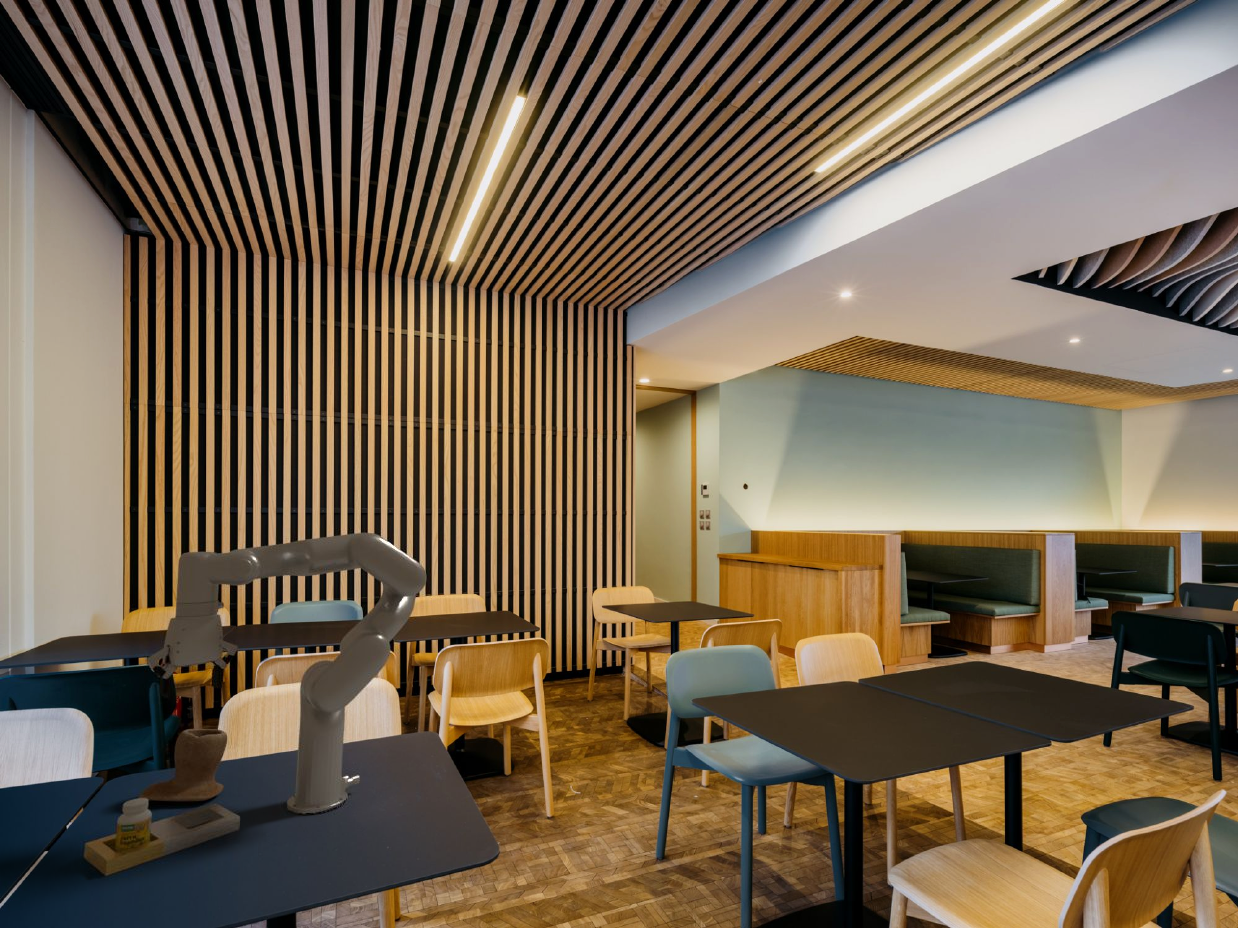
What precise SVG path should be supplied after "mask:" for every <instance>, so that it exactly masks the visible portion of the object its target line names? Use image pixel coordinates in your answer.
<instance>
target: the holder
mask: <svg viewBox="0 0 1238 928" xmlns="http://www.w3.org/2000/svg"><path fill="white" fill-rule="evenodd" d="M240 821H241V815H238V814H236V813H235V812H233V811H231V810H229V809H227V808H225V807H223V806H221V805H220V804H217V803H211V804H209V805H206V806H201V807H198V808H196V809H192V810H189V811H185V812H182V813H180V814H177V815H172V816H169V817H166V818H163V819H160V820H157V821H153V822H151V832H150V842H148V843H145V844H142V845H139V846H136V847H133V848H130V849H127V850H124V851H121V852H118V853H115V846H116V834H117V833H114V834H111V835H108V836H105V837H101V838H99V839H95V840H92V841H88V842H85V843H84V853H83V858H84V859H85V860H86V861H87V862H88V863H90V864H91V865H92V866H93V867H95V868H96V869H97V870H99V872H100V873H101V874H103V875H104V876H106V877H107V876H109V875H110V876H111V875H112V874H114V873H118V872H122V871H125V870H127V869H129V868H132V867H135V866H138V865H141V864H144V863H147V862H149V861H154V860H156V859H158V858H161V857H165V856H167V855H170V854H173V853H176V852H179V851H181V850H184V849H187V848H190V847H192V846H195V845H196V846H197V845H199V844H202V843H204V842H207V841H209V840H213V839H216V838H219V837H222V836H225V835H227V834H231V833H233V832H236V831H239V830H240V824H241V822H240Z"/></svg>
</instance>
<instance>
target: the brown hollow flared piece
mask: <svg viewBox="0 0 1238 928" xmlns="http://www.w3.org/2000/svg"><path fill="white" fill-rule="evenodd" d="M175 741H176V742H175V746H174V755H173V756H174V768H175V769H174V771H175V772H174V773H175V774H174V777H173V778H172V779H170V780H166V781H160V782H156V783H152V784H151V785H149V786H148V787H146V788H145V789H144V790H143V791H141V792H140V794H139V797H138V798H146V799H148V801H156V802H157V801H158V802H202V801H207V800H209V799H213V798H214V797H216V796H218V795H220V793H222V791H223V790H224V785H223V784H221V783H220V782H217V781H216V779H215V778H216V777H215V776H216V772H217V770H218V767H219V765H220V763H221V761H222V760H223V756H224V755H225V751H226V747H227V744H228V735H227V733H226V731H224V730H221V729H212V728H195V729H194V728H191V729H185V730H183V731H182V732H181V733H180V734H179V735H178V737H177V738H176V740H175Z"/></svg>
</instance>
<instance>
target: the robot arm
mask: <svg viewBox="0 0 1238 928" xmlns="http://www.w3.org/2000/svg"><path fill="white" fill-rule="evenodd" d="M177 567H178V568H177V569H178V570H177V583H176V584H177V585H176V600H175V602H176V603H175V617H171V618H170V620H169V621H168V622H169V623H168V627H167V629H166V634H165V639H164V646H163V648H162V649H160V650H159V651H157V652H155V653H153V654H152V655H150V656H149V657H147V658H146V659H145V660H146V664H147V665H148V666H149V668H150V670H151V671H152V673H154V674H155V675H157V676H158V678H159V694H160V695H161V697H162V698H165V699H171V698H172V696H173V682H174V680H173V679H174V678H172V677H171V676H172V674H173V673H175V671H176V670H177V669H178V668H184V667H191V666H197V665H203V664H209V663H211V664H212V665H214V667H212V669H211V682H210V683H211V684H210V685H211V687H212V688H214V689H222V686H223V683H224V678H225V677H224V676H225V669H226V668H227V667H228V665H229V663H231V661H232V660H233V658H234V656H235V655H236V652H238V651H237V650H238V649H239V647H238V645H236V644H234V643H230V642H228V641H225V640H224V636H223V635H224V634H223V623H222V620H221V619H222V618H221V614H218V613H219V610H221V609H224V607H225V603H224V602H223V601H222V602H220V601H219V600H218V599H219V585H229V586H244V585H248V584H250V583H252V582H253V581H255V580H258V579H266V578H272V577H282V576H293V577H294V576H295V577H296V576H297V577H309V576H317V575H319V576H320V575H324V574H331V573H336V572H337V573H338V572H343V571H351V570H357V569H362V570H363V571H365V572H366V573H367V574H369V575H370V576H372V577H373V578H375V579H376V580H378V581H379V582H380V583H382V593H381V596H380V598H379V600H378V602H377V603H375V605H374V606H373V608H372V609H371V610H370V611H368V613H367V614H366V615H365V616H364V617H363V618H362V619H361V620H360V621H359V622H358V623H357V624H356V625H355V626H354V627H353V628H351V630H350V631H348V632H347V633H346V635H344V636H343V638H342V639H341V641H340V645H339V653H340V654H338V656H337V657H336V658H334V660H328V659H327V660H326V659H325V660H321V661H320V660H319V661H317V662H315V663H313V664H312V665H310V666H309V667H308V668H307V669H306V671H304V673H303V675H302V677H301V680H300V685H299V686H300V689H299V700H300V702H299V706H300V709H299V711H300V712H299V715H300V716H299V731H298V732H299V733H298V743H297V744H298V747H297V761H296V763H297V764H296V778H295V779H296V781H295V794H293V795H292V796H291V797H289V798H288V800H287V802H286V803H287V804H286V808H287V810H288V811H289V810H290V811H289V812H291V811H293V812H292V813H293V814H294V813H295V814H299V813H302V814H301V815H307V814H306V813H314V814H316V813H315V812H319V811H323V810H326V809H329V808H332V807H333V806H336V805H338V804H340V803H342V802H343V801H344V800H346V798H347V799H348V792H347V791H346V790H347V789H348V788H349V787H350V786H355V785H357V784H359V783H360V782H361V777H360V775H358V774H356V775H352V776H350V777H349V776H348V775H344V776H343V775H342V773H343V772H342V771H343V769H342V768H343V754H344V753H343V752H344V737H345V736H344V735H345V733H344V732H345V721H346V718H345V717H346V709H345V708H346V707H347V706H348V705H349V704H350V703H351V702H352V701H354V699H356V698H357V696H358V695H359V694H360V693H361V692H362V691H363V690H364V689H365V688H366V687H367V686H368V685H369V684H370V683H371V681H372V680H373V679H374V678H375V677H376V676H377V675H378V674H379V673H380V672H381V671H382V669H383V668H384V667H385V665H386V663H387V662H388V660H389V657H390V654H391V644H390V642H391V641H392V640H393V638H394V637H395V636H396V635H397V634H398V633H399V632H400V631H401V629H402V628H403V627H404V626H405V624H406V623H407V622H408V620H409V619H410V617H411V615H412V613H413V612H414V611H413V610H414V608H415V603H416V596H417V594H419V593H420V592H421V591H422V590H423V589H424V588H425V586H426V583H427V573H426V569H425V568H424V567H423V565H422V564H421V563H419V561H417V560H416V559H415V558H413V557H411V556H409V555H408V554H407V553H405V552H404V551H402V550H401V549H399V548H398V547H397V546H395V545H394V544H392V543H391V542H390V541H388V540H387V539H385V538H384V537H383V536H382V535H379V534H376V533H373V532H372V533H371V532H357V533H350V534H349V533H348V534H341V535H334V536H325V537H316V538H308V539H302V540H296V541H292V542H286V543H278V544H270V545H263V546H254V547H247V548H238V549H233V550H231V551H228V552H221V553H217V552H215V551H214V552H213V551H192V552H191V551H189V552H184V553H182V554H181V555H180V556H179V559H178V566H177ZM224 649H226V650H227V651H226V654H224V655H223V652H224ZM222 656H223V657H222ZM161 659H162V662H163V664H164V665H163V667H161V666H160V665H159V661H160V660H161Z"/></svg>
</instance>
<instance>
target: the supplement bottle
mask: <svg viewBox="0 0 1238 928" xmlns="http://www.w3.org/2000/svg"><path fill="white" fill-rule="evenodd" d="M121 811H122V812H123V813H122V814H121V815H120V816H119V817H118V818H117V822H116V823H117V825H116V833H115V834H116V846H115V853H118V852H121V851H124V850H127V849H130V848H133V847H136V846H139V845H142V844H145V843H148V842H150V832H151V823H152V818H153V817H152V816H153V815H152V811H151V810H150V809H149V800H148V799H146V798H139V797H138V798H134V799H129V800H127V801H125V802H124V803H123V805H122V810H121Z"/></svg>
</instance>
